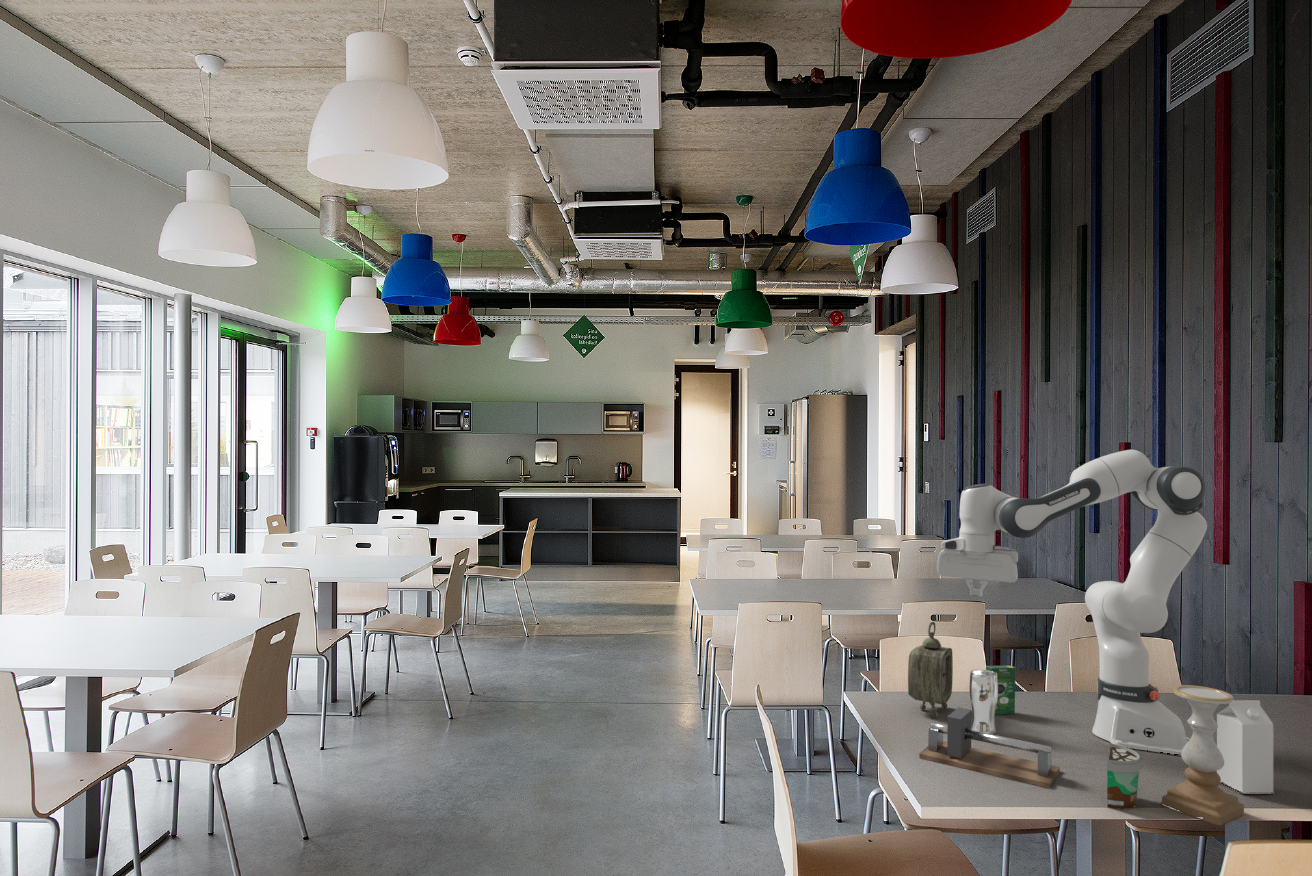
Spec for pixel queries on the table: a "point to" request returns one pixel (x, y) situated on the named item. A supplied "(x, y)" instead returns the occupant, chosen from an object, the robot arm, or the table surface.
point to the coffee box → (1005, 688)
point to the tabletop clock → (930, 672)
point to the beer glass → (983, 700)
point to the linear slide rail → (1043, 751)
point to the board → (994, 765)
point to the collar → (958, 732)
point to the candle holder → (1203, 762)
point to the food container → (1122, 777)
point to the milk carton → (1246, 746)
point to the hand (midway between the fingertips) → (976, 596)
